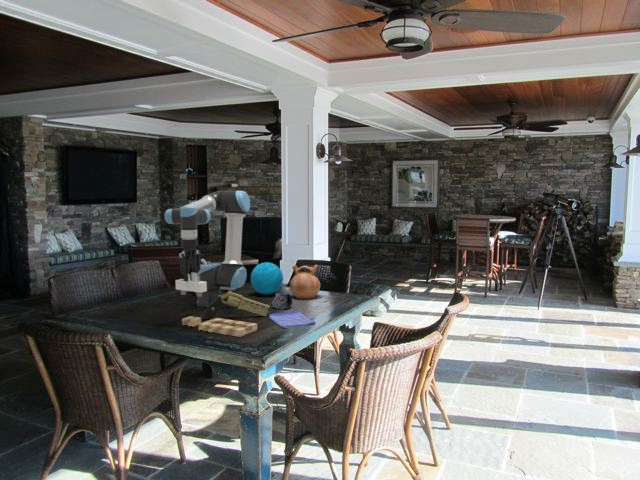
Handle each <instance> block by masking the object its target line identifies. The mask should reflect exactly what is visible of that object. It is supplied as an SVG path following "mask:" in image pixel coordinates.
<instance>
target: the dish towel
mask: <svg viewBox="0 0 640 480" xmlns="http://www.w3.org/2000/svg"><path fill="white" fill-rule="evenodd" d="M268 318H269V319H270V320H271V321H273V322H274V323H275V324H277V325H278V326H279V327H280V328H283V329H291V328H301V327H308V326H309V327H310V326H315V325H316V321H314V320H311V319H310V318H309V317H307V316H306V315H304V314H303V313H301V312H300V311H299V310H295V311H291V312H281V313H280V312H279V313H272V314H271V313H270V314H269V315H268Z"/></svg>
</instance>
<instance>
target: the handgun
mask: <svg viewBox="0 0 640 480" xmlns="http://www.w3.org/2000/svg"><path fill="white" fill-rule="evenodd" d="M227 307H228V308H231V309H232V310H229V311H228V310H226V309H227ZM270 307H271V306H270V305H269V304H267V303H266V304H265V303H262V302H260V301H256V300H254V299H250V298H248V297H244V296H243V295H242V294H240V293H239V294H238V293H236V292H234V291H230V290H227V292H225V291H224V290H222V294H220V295H218V297H217V298H216V300H214V301H213V302H211V303H210V304H209V306H208V307H206V309H205V310H204V312H203V316H204V317H205V318H207V319H209V320H212V319H215V318H214V317H215V316H216V314H217V313H218V311H220V310H221V311H222V312H223V313H225V314H232V313H234V311H235V310H239V311H240V310H241V311H246V312H250V313H253V314H255V315H260V316H263V317H267V316H268V313H269V308H270ZM223 308H224V309H223Z"/></svg>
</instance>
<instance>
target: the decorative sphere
mask: <svg viewBox="0 0 640 480" xmlns="http://www.w3.org/2000/svg"><path fill="white" fill-rule="evenodd" d="M283 282H284V274H283V272H282V270H281V269H280V267H279V266H277V265H276V263H275V264H274V263H272V262H268V261H267V262H266V261H265V262H261V263H260V264H257V265H256V266H255V267H254V268H253V270H252V272H251V274H250V283H251V284H250V285H251V286H252V288H253V290H254V291H256V292H257V293H259V294H261V295H264V296H270V295H273V294H276V293H278V291H279V290H280V289H281V287H282V285H283Z"/></svg>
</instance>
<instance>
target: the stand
mask: <svg viewBox="0 0 640 480" xmlns="http://www.w3.org/2000/svg"><path fill="white" fill-rule="evenodd" d="M181 322H182V324H181V326H185V325H187V327H191V326H192V327H196V326H198V324H199V323H202V317H198V316H187V317H184V318H182V319H181Z"/></svg>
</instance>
